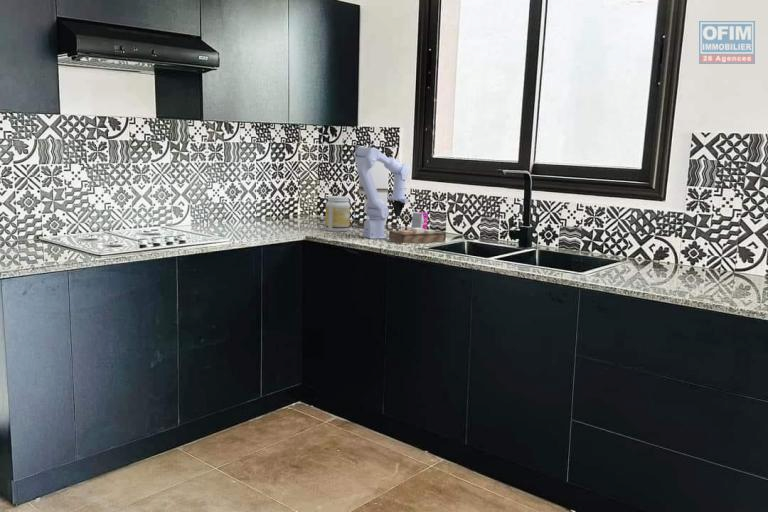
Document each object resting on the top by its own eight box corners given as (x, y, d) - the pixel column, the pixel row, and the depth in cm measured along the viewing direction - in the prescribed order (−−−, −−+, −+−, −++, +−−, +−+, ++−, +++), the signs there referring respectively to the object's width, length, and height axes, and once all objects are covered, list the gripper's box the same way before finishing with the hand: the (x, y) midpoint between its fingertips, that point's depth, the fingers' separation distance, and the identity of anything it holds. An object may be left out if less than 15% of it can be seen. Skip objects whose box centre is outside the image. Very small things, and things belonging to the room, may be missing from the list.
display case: (375, 226, 369) (378, 160, 363) (385, 229, 360) (389, 161, 354) (356, 226, 363) (360, 159, 357) (366, 229, 354) (370, 161, 348)
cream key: (416, 236, 321) (416, 229, 320) (411, 235, 324) (411, 227, 324) (424, 236, 323) (424, 229, 323) (418, 235, 327) (419, 227, 326)
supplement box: (420, 236, 340) (421, 213, 338) (410, 234, 343) (412, 212, 341) (426, 235, 344) (428, 212, 342) (417, 234, 348) (418, 211, 346)
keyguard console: (402, 244, 313) (403, 234, 312) (388, 239, 323) (389, 230, 322) (445, 242, 326) (445, 233, 325) (430, 238, 336) (431, 229, 335)
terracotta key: (404, 239, 318) (404, 231, 317) (399, 237, 321) (399, 230, 321) (412, 239, 320) (412, 231, 319) (407, 237, 324) (407, 230, 323)
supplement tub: (353, 230, 348) (355, 197, 345) (341, 233, 337) (342, 198, 334) (333, 227, 353) (334, 195, 350) (320, 230, 342) (321, 196, 340)
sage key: (427, 238, 324) (427, 231, 324) (422, 237, 328) (422, 229, 327) (435, 238, 327) (435, 230, 326) (429, 236, 330) (430, 229, 330)
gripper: (414, 190, 331) (412, 218, 334) (397, 187, 343) (396, 214, 346) (402, 190, 328) (400, 218, 330) (385, 187, 340) (384, 214, 342)
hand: (397, 216), depth 338 cm, fingers closed
